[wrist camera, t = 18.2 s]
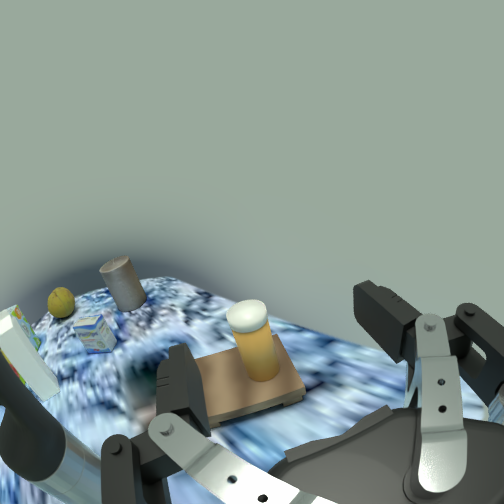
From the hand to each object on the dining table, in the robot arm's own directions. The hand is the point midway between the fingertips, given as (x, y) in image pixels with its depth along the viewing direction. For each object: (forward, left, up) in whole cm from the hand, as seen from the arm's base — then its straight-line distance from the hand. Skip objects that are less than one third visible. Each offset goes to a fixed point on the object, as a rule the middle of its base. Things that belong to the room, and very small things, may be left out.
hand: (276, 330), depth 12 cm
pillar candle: (-30, +62, -28) cm, 75 cm away
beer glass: (0, +20, -24) cm, 31 cm away
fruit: (-58, +67, -28) cm, 93 cm away
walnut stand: (-4, +20, -28) cm, 35 cm away
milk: (-50, +30, -28) cm, 65 cm away
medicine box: (-36, +43, -28) cm, 63 cm away
